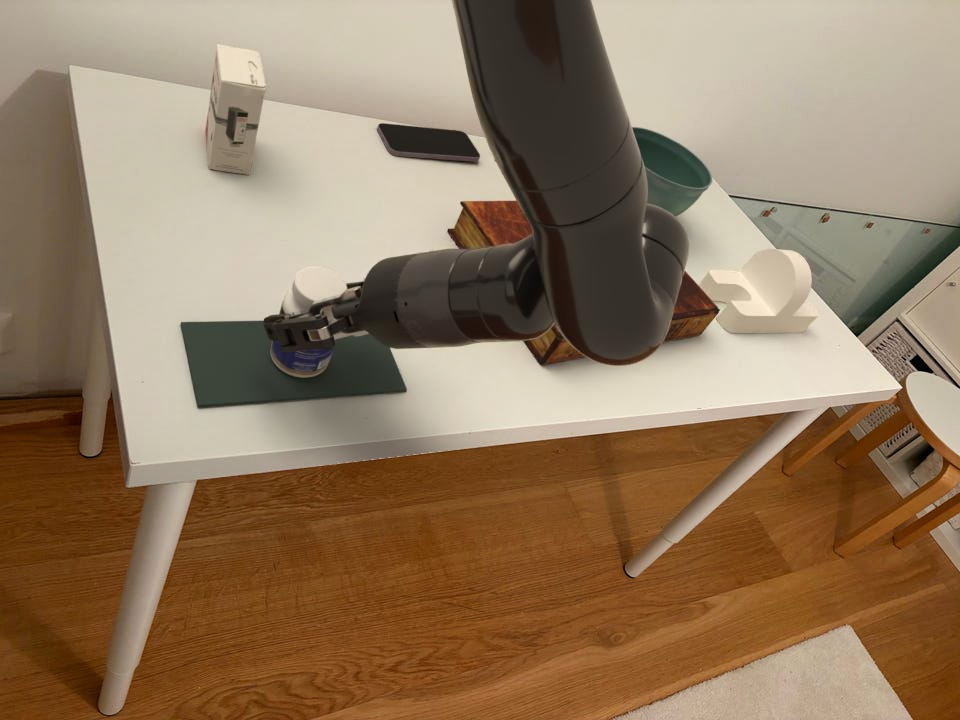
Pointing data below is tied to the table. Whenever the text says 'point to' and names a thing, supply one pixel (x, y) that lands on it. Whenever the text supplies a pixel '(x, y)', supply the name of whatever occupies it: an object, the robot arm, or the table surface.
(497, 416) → the table surface
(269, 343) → the mat
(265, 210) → the table surface
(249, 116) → the ink box
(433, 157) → the smartphone
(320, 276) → the pill bottle
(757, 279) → the white slotted holder
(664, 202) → the green bowl
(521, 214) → the book
